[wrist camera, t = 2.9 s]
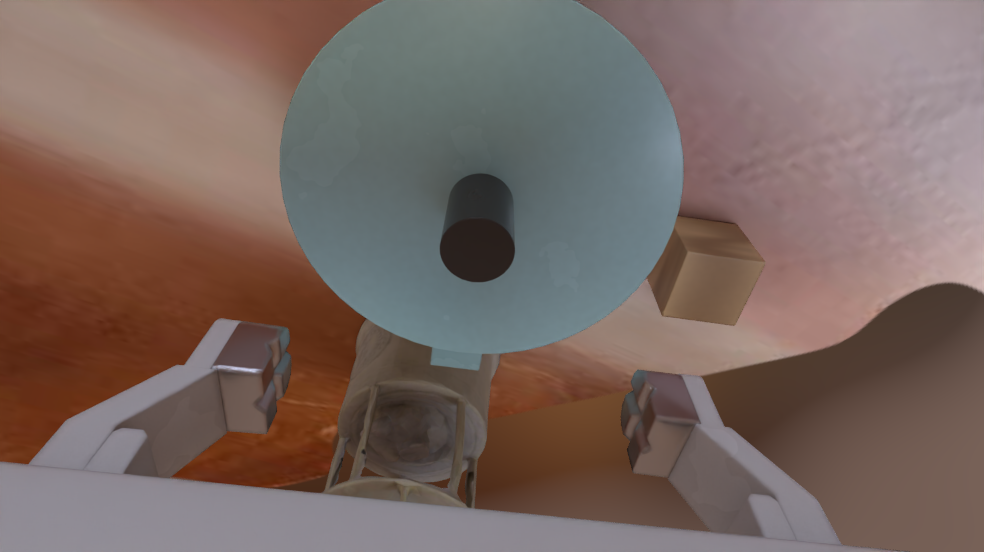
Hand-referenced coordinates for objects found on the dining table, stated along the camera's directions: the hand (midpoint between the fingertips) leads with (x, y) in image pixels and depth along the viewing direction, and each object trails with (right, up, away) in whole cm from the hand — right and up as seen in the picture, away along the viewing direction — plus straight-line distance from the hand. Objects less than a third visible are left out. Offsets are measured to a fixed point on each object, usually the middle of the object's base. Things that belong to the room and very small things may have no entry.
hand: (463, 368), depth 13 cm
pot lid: (0, +5, +8) cm, 10 cm away
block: (+13, +4, +22) cm, 26 cm away
